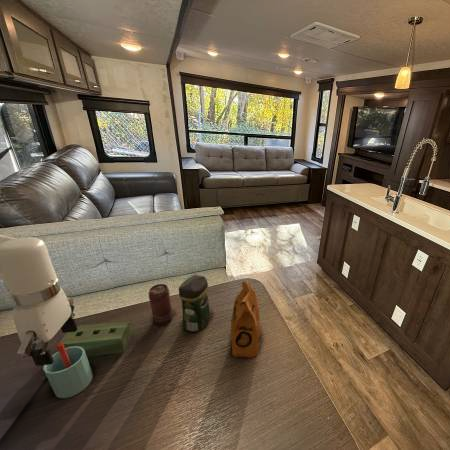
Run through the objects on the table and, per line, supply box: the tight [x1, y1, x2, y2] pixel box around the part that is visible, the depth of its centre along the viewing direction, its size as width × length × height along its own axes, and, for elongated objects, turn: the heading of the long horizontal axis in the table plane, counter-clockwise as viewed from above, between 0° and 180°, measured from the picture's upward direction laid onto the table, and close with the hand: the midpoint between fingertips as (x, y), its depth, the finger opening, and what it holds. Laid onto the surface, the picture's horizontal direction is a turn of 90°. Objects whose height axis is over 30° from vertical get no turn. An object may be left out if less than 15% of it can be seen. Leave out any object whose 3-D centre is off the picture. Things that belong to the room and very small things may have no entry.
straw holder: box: [59, 320, 134, 358], centre depth 77 cm, size 7×16×6 cm, turn 103°
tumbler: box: [42, 346, 94, 399], centre depth 65 cm, size 8×8×10 cm
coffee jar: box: [178, 274, 212, 332], centre depth 87 cm, size 10×8×19 cm
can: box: [148, 283, 174, 326], centre depth 87 cm, size 6×6×14 cm
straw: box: [55, 342, 72, 369], centre depth 64 cm, size 1×1×14 cm
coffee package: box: [230, 280, 262, 359], centre depth 80 cm, size 10×12×22 cm
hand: (58, 346), depth 62 cm, fingers open, 9 cm apart
